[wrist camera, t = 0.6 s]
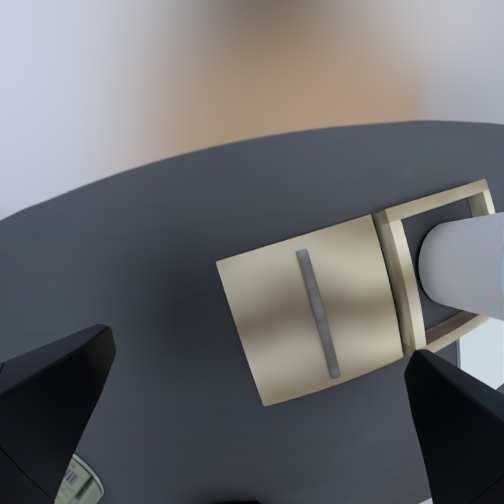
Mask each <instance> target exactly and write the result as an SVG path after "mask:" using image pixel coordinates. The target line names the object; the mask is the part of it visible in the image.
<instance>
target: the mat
mask: <svg viewBox="0 0 504 504" xmlns="http://www.w3.org/2000/svg"><path fill="white" fill-rule="evenodd" d="M456 345H457V367H458V368H460V369H461V370H463V371H465V372H467V373H468V374H470V375H472V376H473V377H475V378H477V379H478V380H480V381H482V382H483V383H485V384H487V385H488V386H490V387H492V388H494V389H495V390H496V389H497V388H498V387H499V386H501V385H502V384H503V383H504V321H502V320H498V319H494V318H490V319H488V320H487V321H485V322H484V323H482V324H481V325H479V326H478V327H476V328H475V329H473V330H472V331H470V332H468V333H467V334H465V335H464V336H462V337H460V338H459V339H457V340H456Z"/></svg>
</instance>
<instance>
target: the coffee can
mask: <svg viewBox="0 0 504 504" xmlns="http://www.w3.org/2000/svg"><path fill="white" fill-rule="evenodd" d="M103 493H104V488H103V485H102V483H101V481H100V479H99V478H98V476H97V475H96V474H95V472H94V471H93V470H92V469H91V468H90V467H89V466H88V465H87V464H86V463H85V462H84V461H83V460H82V459H81V458H79V457H78V456H77V455H76V454H73V457H72V459H71V461H70V464H69V466H68V468H67V471H66V473H65V476H64V478H63V481H62V484H61V486H60V489H59V491H58V494H57V497H56V499H55V503H54V504H96V503H97V502H98V500H99V499H100V497H102V495H103Z"/></svg>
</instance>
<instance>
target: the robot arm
mask: <svg viewBox="0 0 504 504" xmlns="http://www.w3.org/2000/svg"><path fill="white" fill-rule="evenodd" d="M115 354H116V347H115V343H114V338H113V334H112V330H111V328H110V327H109V326H106V325H101V324H97V325H94V326H92V327H89V328H87V329H84V330H82V331H79V332H77V333H74V334H72V335H70V336H67V337H65V338H62V339H60V340H57V341H55V342H52V343H50V344H47V345H45V346H42V347H40V348H37V349H35V350H32V351H30V352H27V353H25V354H22V355H20V356H17V357H15V358H12V359H10V360H7V361H6V362H2V363H0V504H54V503H55V499H56V497H57V494H58V491H59V489H60V486H61V484H62V481H63V478H64V476H65V473H66V471H67V468H68V466H69V464H70V461H71V459H72V457H73V454H74V452H75V450H76V447H77V445H78V443H79V440H80V438H81V436H82V434H83V431H84V429H85V427H86V425H87V423H88V421H89V418H90V416H91V414H92V412H93V410H94V408H95V406H96V404H97V402H98V400H99V397H100V395H101V393H102V390H103V387H104V385H105V382H106V379H107V376H108V374H109V371H110V368H111V366H112V363H113V360H114V358H115ZM404 379H405V383H406V388H407V393H408V398H409V403H410V408H411V413H412V418H413V421H414V425H415V429H416V432H417V436H418V439H419V443H420V447H421V451H422V455H423V459H424V463H425V467H426V472H427V476H428V481H429V486H430V491H431V496H432V501H433V504H504V394H502V393H500V392H499V391H497V390H495V389H494V388H492V387H490V386H488V385H487V384H485V383H483V382H482V381H480V380H478V379H477V378H475V377H473V376H472V375H470V374H468V373H467V372H465V371H463V370H461V369H460V368H458V367H456V366H455V365H453V364H451V363H450V362H448V361H446V360H444V359H443V358H441V357H439V356H438V355H436V354H434V353H433V352H431V351H429V350H427V349H417V350H415V351H414V352H413V353H412V356H411V358H410V360H409V362H408V365H407V367H406V369H405V372H404ZM236 504H260V503H259V502H257V501H252V502H245V503H236Z"/></svg>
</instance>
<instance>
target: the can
mask: <svg viewBox="0 0 504 504" xmlns="http://www.w3.org/2000/svg"><path fill="white" fill-rule="evenodd" d="M419 275H420V280H421V283H422V286H423V288H424V290H425V292H426V293H427V295H428V296H429V297H430V298H431V299H432V300H433V301H435V302H436V303H439V304H442V305H446V306H450V307H453V308H457V309H461V310H464V311H468V312H472V313H476V314H479V315H483V316H487V317H490V318H494V319H498V320H502V321H504V212H502V213H496V214H491V215H485V216H480V217H474V218H469V219H463V220H457V221H452V222H446V223H442V224H439V225H437V226H436V227H434V228H433V229H432V230H431V231H430V232H429V233H428V235H427V236H426V238H425V240H424V242H423V244H422V247H421V250H420V255H419Z"/></svg>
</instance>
